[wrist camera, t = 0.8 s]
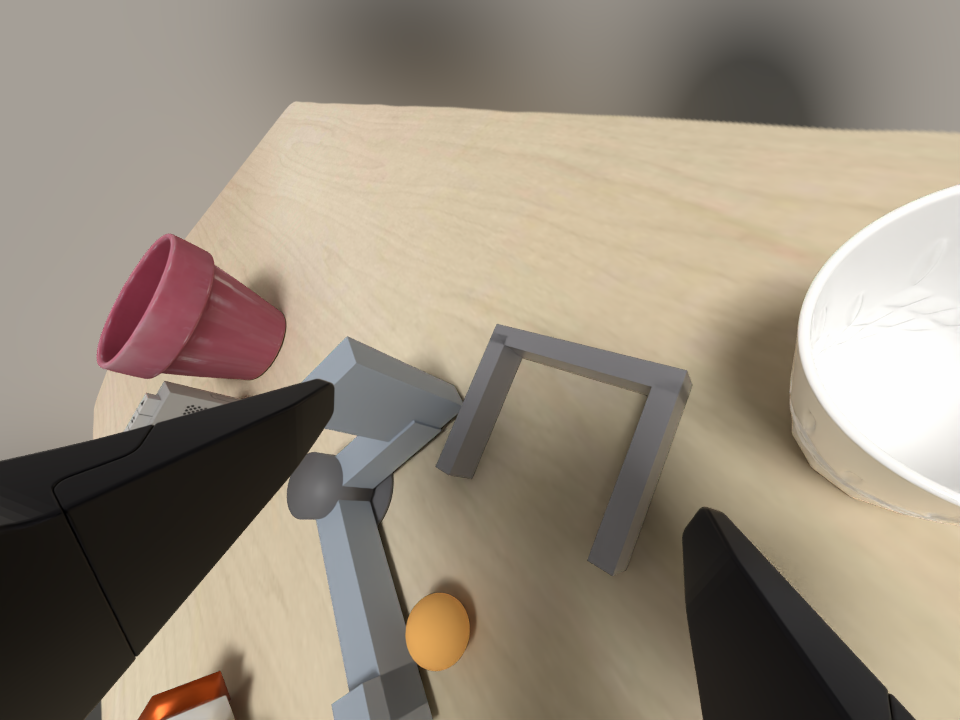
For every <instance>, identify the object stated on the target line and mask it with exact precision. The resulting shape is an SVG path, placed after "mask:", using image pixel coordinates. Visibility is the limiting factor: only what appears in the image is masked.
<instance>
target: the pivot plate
mask: <svg viewBox="0 0 960 720" xmlns="http://www.w3.org/2000/svg"><path fill="white" fill-rule="evenodd" d="M392 492H393V472H392V473H391V474H390V475H389V476H388V477H386V478H385V479H384V480H383V481H382V482H381V483H379V484H378V485H377V486H376V487H375V488H373V493H372V497H371V500H370V504H371V507H372V511H373V514H374V518H375V521H376V525H377V526H378V525H379V524H380V522H381V521H382V519H383V518H384V516H385V514H386V512H387V510H388V507H389V504H390V501H391V497H392Z"/></svg>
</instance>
